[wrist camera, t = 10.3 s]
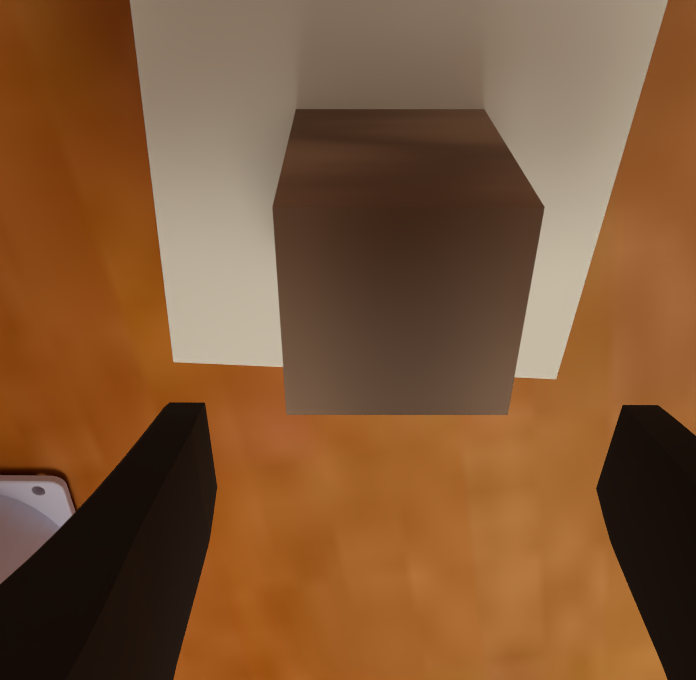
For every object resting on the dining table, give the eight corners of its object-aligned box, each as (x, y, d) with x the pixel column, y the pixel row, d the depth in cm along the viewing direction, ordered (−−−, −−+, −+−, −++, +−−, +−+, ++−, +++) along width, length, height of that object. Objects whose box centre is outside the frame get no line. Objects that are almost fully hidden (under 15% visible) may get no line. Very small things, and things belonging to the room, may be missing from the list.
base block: (192, 310, 23) (173, 361, 21) (152, -105, 16) (117, -103, 14) (534, 326, 23) (556, 378, 21) (637, -74, 16) (687, -67, 14)
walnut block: (303, 275, 19) (286, 414, 14) (295, 109, 16) (272, 206, 11) (465, 275, 19) (507, 415, 14) (484, 109, 16) (544, 207, 11)
